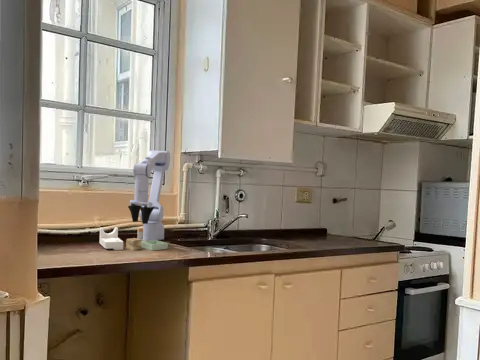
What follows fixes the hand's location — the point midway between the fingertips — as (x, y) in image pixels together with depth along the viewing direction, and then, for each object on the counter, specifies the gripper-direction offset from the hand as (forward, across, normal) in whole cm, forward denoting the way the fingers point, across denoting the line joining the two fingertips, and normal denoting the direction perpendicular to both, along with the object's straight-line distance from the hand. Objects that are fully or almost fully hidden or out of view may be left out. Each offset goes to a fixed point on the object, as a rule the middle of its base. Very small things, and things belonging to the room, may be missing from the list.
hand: (140, 222), depth 198 cm
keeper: (+10, 0, 0) cm, 10 cm away
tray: (+10, +8, +2) cm, 13 cm away
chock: (+10, +5, -6) cm, 13 cm away
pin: (+10, 0, 0) cm, 10 cm away
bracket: (+10, -3, -12) cm, 16 cm away
